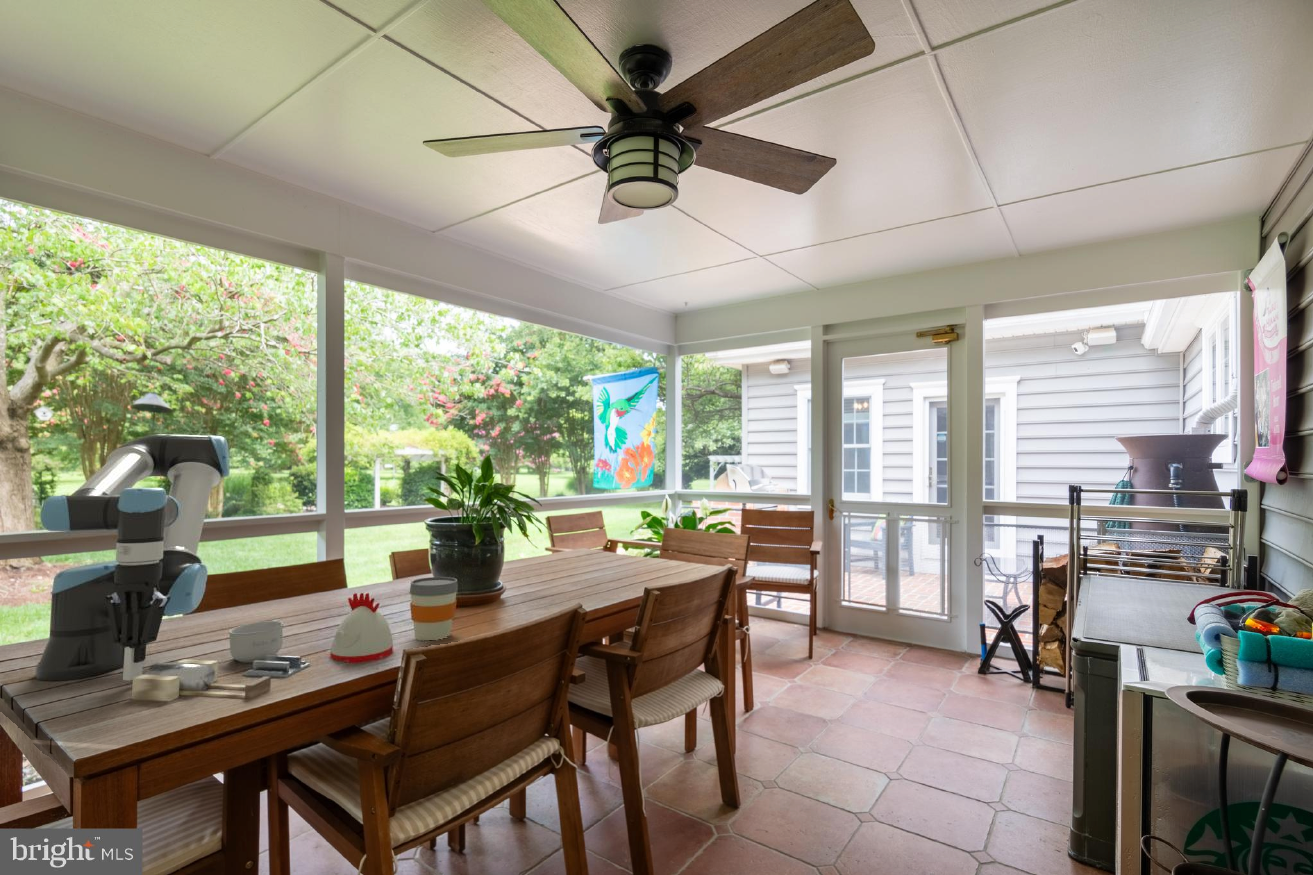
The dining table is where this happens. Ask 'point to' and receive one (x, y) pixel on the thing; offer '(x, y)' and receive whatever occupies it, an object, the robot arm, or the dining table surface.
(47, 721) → the dining table surface
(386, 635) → the kitchen timer
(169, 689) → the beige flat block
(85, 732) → the dining table surface
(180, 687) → the axle
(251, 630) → the teacup
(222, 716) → the dining table surface
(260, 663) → the v block
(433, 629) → the reusable coffee cup
